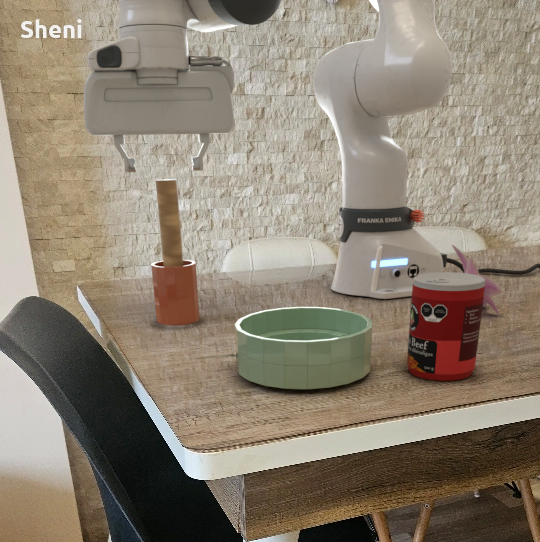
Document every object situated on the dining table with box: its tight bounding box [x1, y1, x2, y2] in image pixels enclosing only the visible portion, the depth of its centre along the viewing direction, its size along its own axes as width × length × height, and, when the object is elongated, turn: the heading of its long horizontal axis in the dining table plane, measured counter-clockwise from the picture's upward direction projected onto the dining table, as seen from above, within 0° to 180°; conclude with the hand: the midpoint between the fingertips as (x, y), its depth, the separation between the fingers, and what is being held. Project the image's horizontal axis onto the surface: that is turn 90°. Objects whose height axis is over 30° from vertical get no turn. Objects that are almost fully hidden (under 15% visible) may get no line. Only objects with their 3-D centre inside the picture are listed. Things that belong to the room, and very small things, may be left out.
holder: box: [150, 259, 201, 326], centre depth 102 cm, size 7×7×9 cm
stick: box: [155, 178, 184, 267], centre depth 99 cm, size 3×3×20 cm
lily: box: [451, 244, 503, 317], centre depth 103 cm, size 12×12×10 cm
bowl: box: [234, 306, 373, 391], centre depth 80 cm, size 16×16×6 cm
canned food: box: [406, 271, 485, 382], centre depth 78 cm, size 8×8×11 cm
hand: (164, 171), depth 94 cm, fingers open, 8 cm apart
